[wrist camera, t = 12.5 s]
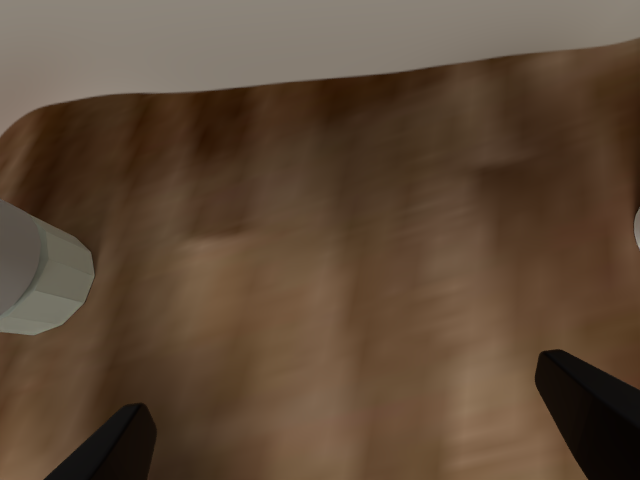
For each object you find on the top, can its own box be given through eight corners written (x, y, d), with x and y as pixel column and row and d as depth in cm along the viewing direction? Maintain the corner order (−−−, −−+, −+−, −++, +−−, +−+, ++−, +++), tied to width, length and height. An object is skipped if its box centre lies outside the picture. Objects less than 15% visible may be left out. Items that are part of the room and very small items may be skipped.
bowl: (69, 341, 22) (14, 336, 18) (-26, 324, 23) (-98, 316, 19) (108, 241, 24) (66, 219, 21) (20, 229, 25) (-36, 204, 21)
